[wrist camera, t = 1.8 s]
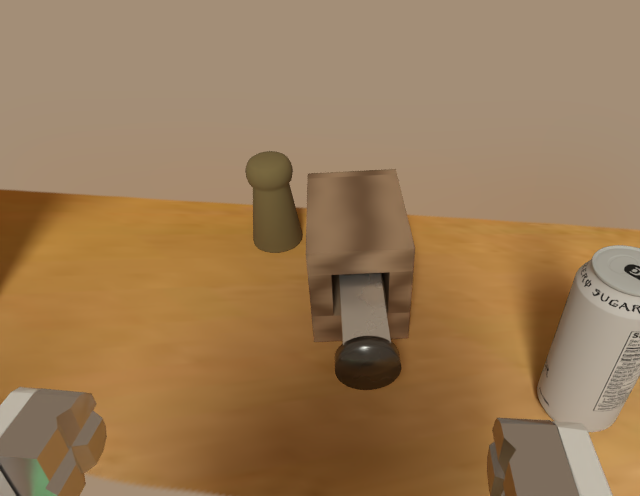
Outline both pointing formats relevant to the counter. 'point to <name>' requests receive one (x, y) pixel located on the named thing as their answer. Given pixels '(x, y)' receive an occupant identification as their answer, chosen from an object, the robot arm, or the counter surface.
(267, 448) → the counter surface
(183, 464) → the counter surface
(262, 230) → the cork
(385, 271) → the block
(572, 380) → the energy drink can
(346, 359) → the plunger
